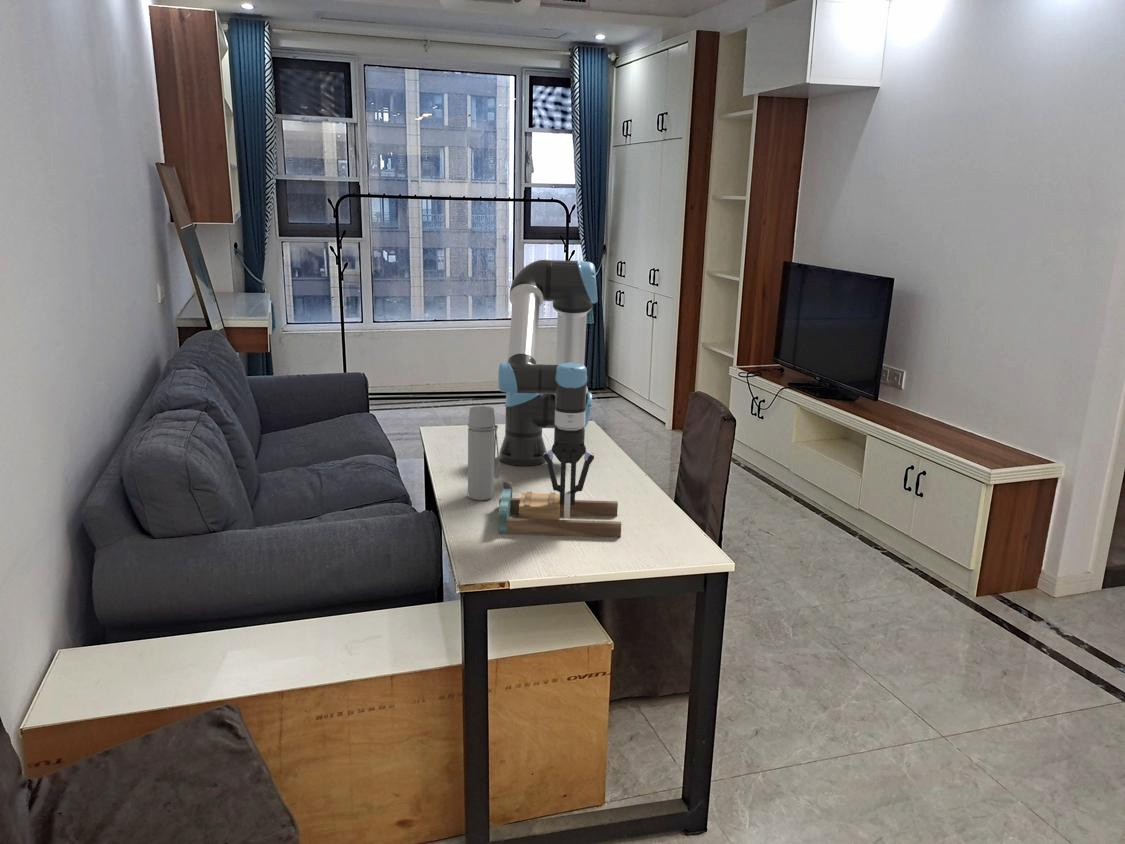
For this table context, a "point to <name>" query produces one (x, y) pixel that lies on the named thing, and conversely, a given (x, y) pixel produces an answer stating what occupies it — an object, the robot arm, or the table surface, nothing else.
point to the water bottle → (481, 453)
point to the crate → (539, 506)
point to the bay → (558, 526)
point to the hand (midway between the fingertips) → (566, 516)
